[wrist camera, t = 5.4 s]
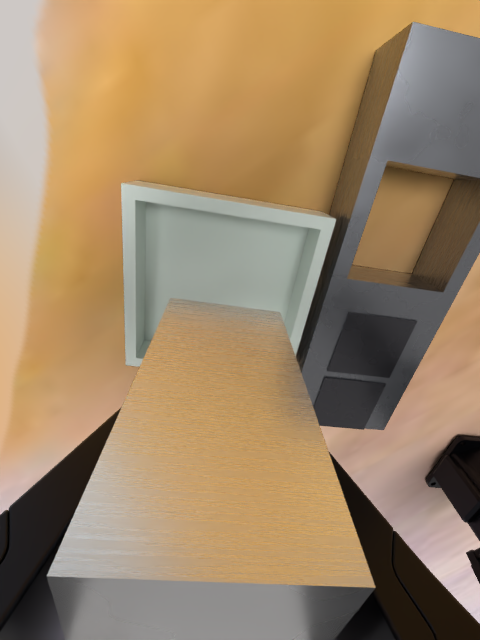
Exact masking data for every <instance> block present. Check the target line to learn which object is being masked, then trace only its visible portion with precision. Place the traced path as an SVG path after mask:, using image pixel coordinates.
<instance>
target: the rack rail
mask: <svg viewBox="0 0 480 640" xmlns="http://www.w3.org/2000/svg"><path fill="white" fill-rule="evenodd" d="M386 166H389V167H394V168H399V169H405V170H410V171H415V172H420V173H426V174H431V175H436V176H441V177H447V178H452V179H454V182H453V184H452V186H451V188H450V190H449V193H448V195H447V197H446V199H445V202H444V204H443V206H442V208H441V211H440V213H439V215H438V217H437V219H436V222H435V224H434V226H433V228H432V231H431V233H430V235H429V237H428V240H427V242H426V244H425V246H424V248H423V251H422V253H421V255H420V257H419V260H418V262H417V264H416V266H415V268H414V271H413V273H412V274H409V273H402V272H395V271H389V270H382V269H375V268H369V267H362V266H355V265H352V263H353V260H354V257H355V254H356V251H357V248H358V245H359V242H360V239H361V236H362V234H363V231H364V228H365V225H366V222H367V219H368V216H369V213H370V210H371V207H372V204H373V202H374V199H375V196H376V193H377V190H378V187H379V184H380V181H381V178H382V175H383V173H384V170H385V167H386ZM329 215H330V216H332V217H333V218H335V219H336V222H335V226H334V229H333V232H332V236H331V239H330V242H329V246H328V249H327V252H326V256H325V259H324V263H323V266H322V269H321V273H320V276H319V279H318V283H317V286H316V289H315V293H314V296H313V299H312V303H311V306H310V310H309V313H308V316H307V320H306V323H305V326H304V330H303V333H302V336H301V340H300V343H299V347H298V350H297V353H296V359H297V362H298V365H299V368H300V371H301V374H302V376H303V379H304V382H305V385H306V388H307V391H308V394H309V397H310V400H311V402H312V405H313V408H314V411H315V414H316V417H317V420H318V423H319V426H331V427H342V428H353V429H364V428H366V429H377V430H384V428H385V427H386V425H387V423H388V421H389V419H390V417H391V415H392V414H393V412H394V410H395V408H396V406H397V404H398V403H399V401H400V399H401V397H402V395H403V393H404V391H405V390H406V388H407V386H408V384H409V382H410V380H411V378H412V377H413V375H414V373H415V371H416V369H417V367H418V366H419V364H420V362H421V360H422V358H423V356H424V354H425V353H426V351H427V349H428V347H429V345H430V343H431V341H432V340H433V338H434V336H435V334H436V332H437V330H438V329H439V327H440V325H441V323H442V321H443V319H444V317H445V316H446V314H447V312H448V310H449V308H450V306H451V304H452V303H453V301H454V299H455V297H456V295H457V293H458V292H459V290H460V288H461V286H462V284H463V282H464V280H465V279H466V277H467V275H468V273H469V271H470V269H471V267H472V266H473V264H474V262H475V260H476V258H477V256H478V255H479V253H480V38H477V37H473V36H469V35H464V34H460V33H456V32H452V31H448V30H444V29H440V28H436V27H432V26H428V25H424V24H420V23H416V22H412V23H411V24H410V25H408V26H407V27H406V28H405V29H403V30H402V31H401V32H399V33H398V34H397V35H395V36H394V37H393V38H392V39H390V40H389V41H388V42H386V43H385V44H384V45H382V46H381V47H380V48H379V49H377V50H376V52H375V56H374V59H373V63H372V66H371V70H370V73H369V77H368V80H367V84H366V87H365V91H364V95H363V98H362V102H361V105H360V109H359V112H358V116H357V119H356V123H355V126H354V130H353V133H352V137H351V140H350V144H349V147H348V151H347V154H346V158H345V161H344V165H343V168H342V172H341V175H340V179H339V182H338V186H337V189H336V193H335V196H334V200H333V203H332V207H331V210H330V214H329Z"/></svg>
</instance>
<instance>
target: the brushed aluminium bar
mask: <svg viewBox="0 0 480 640" xmlns="http://www.w3.org/2000/svg"><path fill="white" fill-rule="evenodd" d="M47 580H48V583H49V586H50V590H51V593H52V596H53V600H54V603H55V607H56V610H57V613H58V617H59V620H60V624H61V627H62V630H63V634H64V637H65V640H334V639H335V638H336V637H337V636H338V634H339V633H340V632H341V631H342V629H343V628H344V627H345V626H346V624H347V623H348V622H349V621H350V619H351V618H352V617H353V616H354V614H355V613H356V612H357V611H358V609H359V608H360V607H361V606H362V604H363V603H364V602H365V601H366V599H367V598H368V597H369V595H370V594H371V593H372V592H373V590H374V589H375V588H376V587H375V584H374V581H373V578H372V576H371V573H370V570H369V567H368V564H367V561H366V558H365V555H364V552H363V550H362V547H361V544H360V541H359V538H358V535H357V532H356V529H355V526H354V524H353V521H352V518H351V515H350V512H349V509H348V506H347V503H346V501H345V498H344V495H343V492H342V489H341V486H340V483H339V480H338V477H337V475H336V472H335V469H334V466H333V463H332V460H331V457H330V454H329V451H328V449H327V446H326V443H325V440H324V437H323V434H322V431H321V428H320V426H319V423H318V420H317V417H316V414H315V411H314V408H313V405H312V402H311V400H310V397H309V394H308V391H307V388H306V385H305V382H304V379H303V376H302V374H301V371H300V368H299V365H298V362H297V359H296V356H295V353H294V351H293V348H292V345H291V342H290V339H289V336H288V333H287V330H286V327H285V325H284V322H283V319H282V316H281V313H280V312H276V311H269V310H261V309H253V308H246V307H238V306H231V305H223V304H215V303H208V302H200V301H192V300H185V299H177V298H170V300H169V302H168V304H167V307H166V309H165V311H164V313H163V316H162V318H161V320H160V322H159V325H158V327H157V329H156V331H155V334H154V336H153V338H152V340H151V343H150V345H149V347H148V349H147V352H146V354H145V356H144V358H143V361H142V363H141V365H140V367H139V370H138V372H137V374H136V376H135V379H134V381H133V383H132V385H131V388H130V390H129V392H128V394H127V397H126V399H125V401H124V403H123V406H122V408H121V410H120V412H119V415H118V417H117V419H116V421H115V424H114V426H113V428H112V430H111V433H110V435H109V437H108V439H107V441H106V444H105V446H104V448H103V450H102V453H101V455H100V457H99V459H98V462H97V464H96V466H95V468H94V471H93V473H92V475H91V477H90V480H89V482H88V484H87V486H86V489H85V491H84V493H83V495H82V498H81V500H80V502H79V504H78V507H77V509H76V511H75V513H74V516H73V518H72V520H71V522H70V525H69V527H68V529H67V531H66V534H65V536H64V538H63V540H62V543H61V545H60V547H59V549H58V552H57V554H56V556H55V558H54V561H53V563H52V565H51V567H50V570H49V572H48V574H47Z"/></svg>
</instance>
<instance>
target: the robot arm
mask: <svg viewBox="0 0 480 640" xmlns="http://www.w3.org/2000/svg"><path fill="white" fill-rule="evenodd" d="M121 408H122V407H121ZM121 408H120V409H119V410H118V411H117V412H116V413H115V414H113V415H112V416H111V417H110V418H109V419H108V420H107V421H106V422H104V423H103V424H102V425H101V426H100V427H99V428H98V429H97V430H95V431H94V432H93V433H92V434H91V435H90V436H89V437H88V438H86V439H85V440H84V441H83V442H82V443H81V444H80V445H79V446H77V447H76V448H75V449H74V450H73V451H72V452H71V453H70V454H68V455H67V456H66V457H65V458H64V459H63V460H62V461H61V462H59V463H58V464H57V465H56V466H55V467H54V468H53V469H52V470H50V471H49V472H48V473H47V474H46V475H45V476H44V477H43V478H41V479H40V480H39V481H38V482H37V483H36V484H35V485H34V486H32V487H31V488H30V489H29V490H28V491H27V492H26V493H25V494H23V495H22V496H21V497H20V498H19V499H18V500H17V501H16V502H14V503H13V504H12V505H11V506H10V507H9V511H8V510H5V511H4V512H3V513H2V514H1V515H0V640H65V637H64V634H63V630H62V627H61V624H60V620H59V617H58V613H57V610H56V607H55V603H54V600H53V596H52V593H51V590H50V586H49V583H48V580H47V574H48V572H49V570H50V567H51V565H52V563H53V561H54V558H55V556H56V554H57V552H58V549H59V547H60V545H61V543H62V540H63V538H64V536H65V534H66V531H67V529H68V527H69V525H70V522H71V520H72V518H73V516H74V513H75V511H76V509H77V507H78V504H79V502H80V500H81V498H82V495H83V493H84V491H85V489H86V486H87V484H88V482H89V480H90V477H91V475H92V473H93V471H94V468H95V466H96V464H97V462H98V459H99V457H100V455H101V453H102V450H103V448H104V446H105V444H106V441H107V439H108V437H109V435H110V433H111V430H112V428H113V426H114V424H115V421H116V419H117V417H118V415H119V412H120V410H121ZM329 454H330V452H329ZM330 457H331V460H332V463H333V466H334V469H335V472H336V475H337V477H338V480H339V483H340V486H341V489H342V492H343V495H344V498H345V501H346V503H347V506H348V509H349V512H350V515H351V518H352V521H353V524H354V526H355V529H356V532H357V535H358V538H359V541H360V544H361V547H362V550H363V552H364V555H365V558H366V561H367V564H368V567H369V570H370V573H371V576H372V578H373V581H374V584H375V587H376V588H375V589H374V590H373V592H372V593H371V594H370V595H369V597H368V598H367V599H366V601H365V602H364V603H363V604H362V606H361V607H360V608H359V609H358V611H357V612H356V613H355V614H354V616H353V617H352V618H351V619H350V621H349V622H348V623H347V624H346V626H345V627H344V628H343V629H342V631H341V632H340V633H339V634H338V636H337V637H336V638H335V639H334V640H480V624H479V623H478V622H477V621H476V620H475V618H474V617H473V616H472V615H471V614H470V613H469V612H468V611H467V610H466V609H465V608H464V607H463V606H462V605H461V604H460V603H459V602H458V601H457V600H456V599H455V597H454V596H453V595H452V594H451V593H450V592H449V591H448V590H447V589H446V588H445V587H444V586H443V585H442V583H441V582H440V581H439V580H438V579H437V578H436V577H435V576H434V575H433V574H432V573H431V572H430V570H429V569H428V568H427V567H426V566H425V565H424V564H423V562H422V561H421V560H420V559H419V558H418V557H417V556H416V554H415V553H414V552H413V551H412V550H411V549H410V547H409V546H408V545H407V544H406V543H405V542H404V540H403V539H402V538H401V537H400V536H399V534H398V533H397V532H396V531H393V527H392V526H391V525H390V524H389V523H388V521H387V520H386V519H385V518H384V517H383V516H382V514H381V513H380V512H379V511H378V510H377V508H376V507H375V506H374V505H373V504H372V502H371V501H370V500H369V499H368V498H367V496H366V495H365V494H364V493H363V492H362V491H361V489H360V488H359V487H358V486H357V485H356V483H355V482H354V481H353V480H352V479H351V477H350V476H349V475H348V474H347V473H346V471H345V470H344V469H343V468H342V467H341V466H340V464H339V463H338V462H337V461H336V460H335V458H334V457H333V456H332V455H331V454H330ZM426 483H427V485H428V486H429V487H435V488H442V490H443V491H444V493H445V494H446V496H447V497H448V499H449V500H450V502H451V503H452V505H453V506H454V508H455V509H456V511H457V512H458V514H459V515H460V517H461V518H462V520H463V521H464V522H467V523H468V524H469V526H470V527H471V529H472V530H473V532H474V533H475V535H476V536H477V538H478V539H479V541H480V438H479V437H468V436H459V437H457V438H455V439H454V441H453V442H452V444H451V445H450V446H449V448H448V449H447V451H446V452H445V453H444V455H443V456H442V458H441V459H440V460H439V462H438V463H437V465H436V466H435V467H434V469H433V470H432V472H431V473H430V474H429V476H428V477H427V479H426ZM466 554H467V556H468V558H469V560H470V562H471V564H472V565H471V567H472V569H473V571H474V573H475V575H476V577H477V579H478V581H479V583H480V548H478V549H476V550H470V551H468V552H466Z"/></svg>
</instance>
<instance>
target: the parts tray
mask: <svg viewBox="0 0 480 640" xmlns="http://www.w3.org/2000/svg"><path fill="white" fill-rule="evenodd" d="M121 195H122V235H123V275H124V314H125V354H126V365H129V366H139V367H140V365H141V363H142V361H143V358H144V356H145V354H146V352H147V349H148V347H149V345H150V343H151V340H152V338H153V336H154V334H155V331H156V329H157V327H158V325H159V322H160V320H161V318H162V316H163V313H164V311H165V309H166V307H167V304H168V302H169V300H170V298H177V299H185V300H192V301H200V302H208V303H215V304H223V305H231V306H238V307H246V308H253V309H261V310H269V311H276V312H280V313H281V316H282V319H283V322H284V325H285V327H286V330H287V333H288V336H289V339H290V342H291V345H292V348H293V351H294V353H295V356H296V353H297V350H298V347H299V343H300V340H301V336H302V333H303V330H304V326H305V323H306V320H307V316H308V313H309V310H310V306H311V303H312V299H313V296H314V293H315V289H316V286H317V283H318V279H319V276H320V273H321V269H322V266H323V263H324V259H325V256H326V252H327V249H328V246H329V242H330V239H331V236H332V232H333V229H334V226H335V222H336V219H335V218H333V217H332V216H330V215H328V214H326V213H324V212H322V211H316V210H310V209H305V208H299V207H293V206H287V205H281V204H275V203H269V202H263V201H257V200H251V199H245V198H239V197H233V196H227V195H221V194H215V193H210V192H204V191H198V190H192V189H186V188H180V187H174V186H168V185H162V184H156V183H150V182H144V181H138V180H136V181H131V182H125V183H121Z"/></svg>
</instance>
